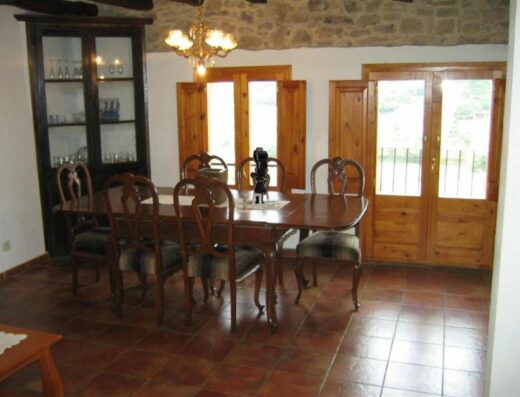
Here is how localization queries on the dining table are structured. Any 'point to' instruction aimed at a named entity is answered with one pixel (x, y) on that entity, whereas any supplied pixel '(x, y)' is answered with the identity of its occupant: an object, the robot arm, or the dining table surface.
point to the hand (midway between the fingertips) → (261, 189)
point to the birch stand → (244, 205)
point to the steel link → (259, 200)
